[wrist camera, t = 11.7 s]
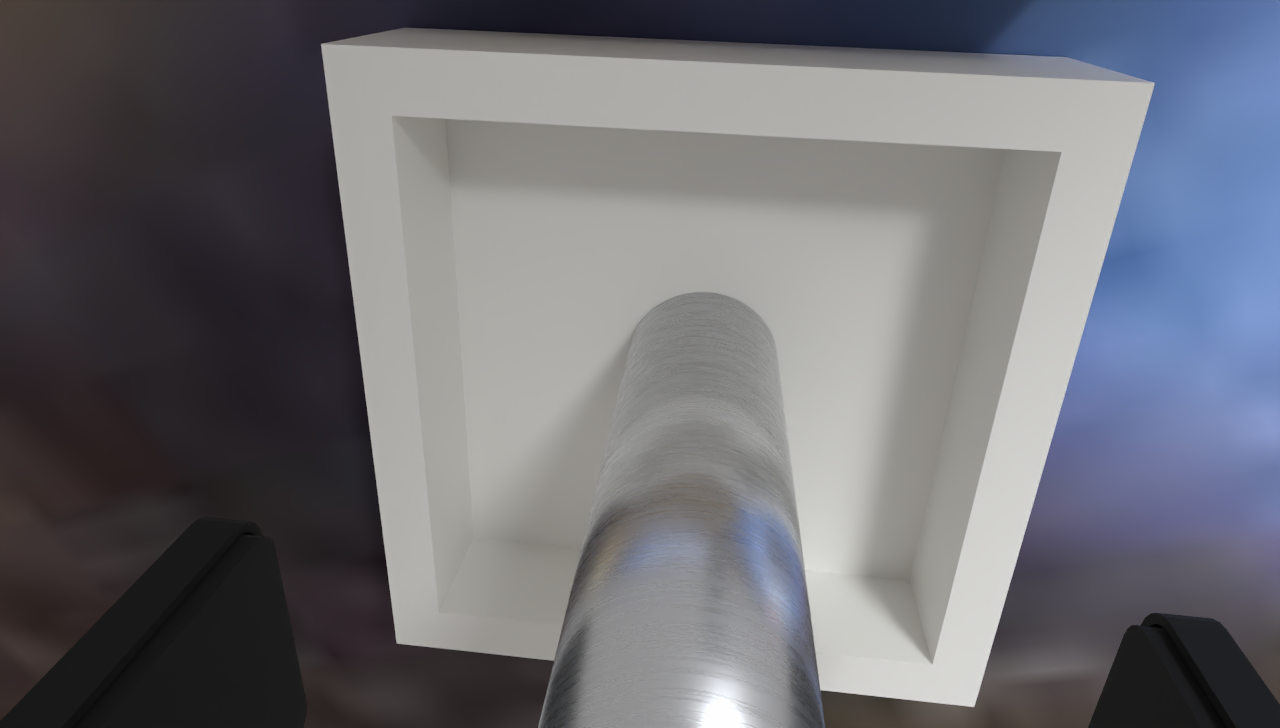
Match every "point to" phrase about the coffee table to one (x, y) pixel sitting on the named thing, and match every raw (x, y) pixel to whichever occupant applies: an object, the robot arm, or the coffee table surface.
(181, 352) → the coffee table surface
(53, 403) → the coffee table surface
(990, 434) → the tray
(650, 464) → the pin
